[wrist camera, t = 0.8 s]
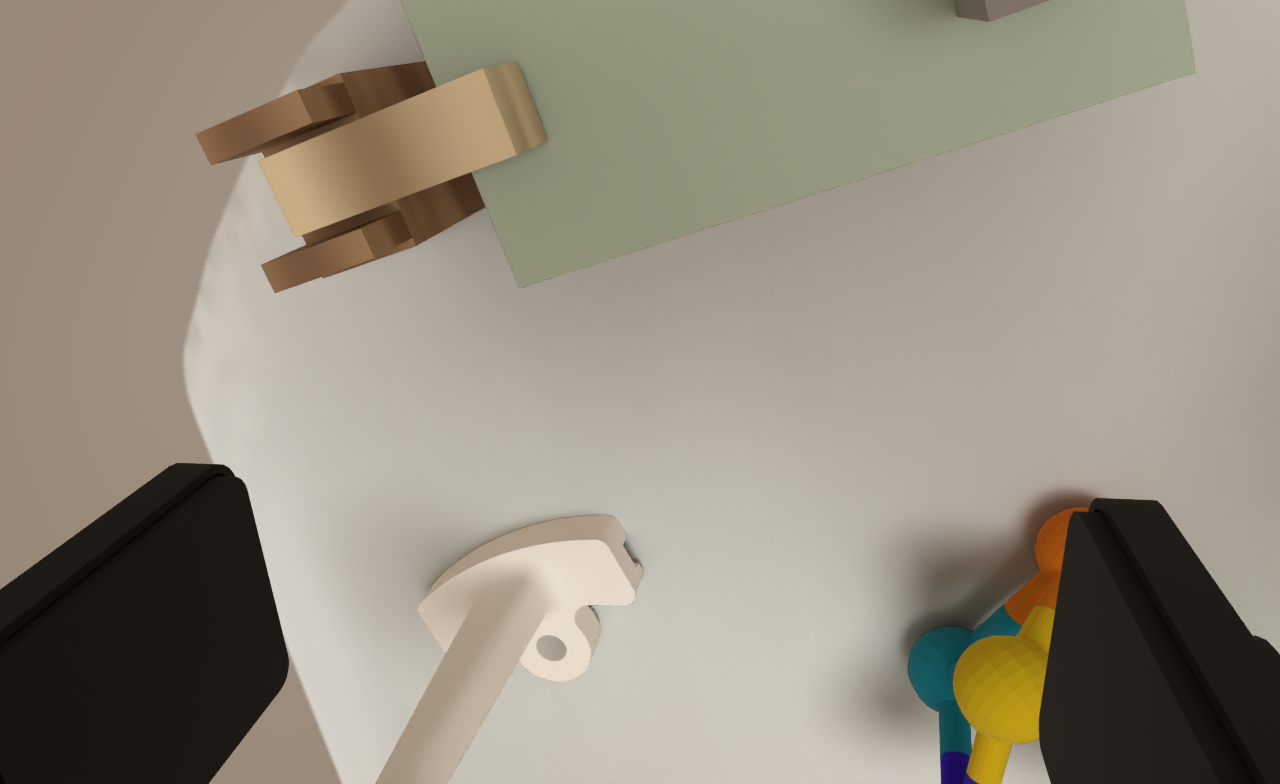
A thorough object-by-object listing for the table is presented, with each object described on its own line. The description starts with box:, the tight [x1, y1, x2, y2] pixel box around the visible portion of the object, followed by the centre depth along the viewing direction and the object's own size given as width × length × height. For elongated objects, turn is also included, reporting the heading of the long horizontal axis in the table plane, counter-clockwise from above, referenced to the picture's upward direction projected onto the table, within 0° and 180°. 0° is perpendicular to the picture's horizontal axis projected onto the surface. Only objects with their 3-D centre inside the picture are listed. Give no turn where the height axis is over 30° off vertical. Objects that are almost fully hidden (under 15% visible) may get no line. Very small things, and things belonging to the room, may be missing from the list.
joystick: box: [375, 515, 643, 784], centre depth 37 cm, size 11×8×20 cm
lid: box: [401, 0, 1196, 288], centre depth 24 cm, size 21×11×7 cm, turn 110°
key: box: [258, 62, 548, 237], centre depth 28 cm, size 8×2×3 cm, turn 110°
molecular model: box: [908, 507, 1089, 784], centre depth 35 cm, size 15×12×15 cm
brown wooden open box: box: [196, 61, 486, 293], centre depth 30 cm, size 28×10×11 cm, turn 110°
